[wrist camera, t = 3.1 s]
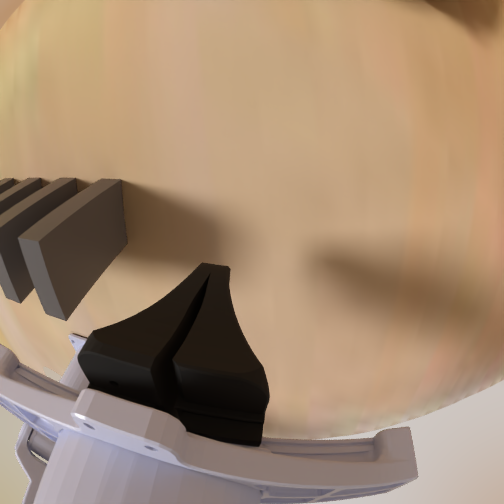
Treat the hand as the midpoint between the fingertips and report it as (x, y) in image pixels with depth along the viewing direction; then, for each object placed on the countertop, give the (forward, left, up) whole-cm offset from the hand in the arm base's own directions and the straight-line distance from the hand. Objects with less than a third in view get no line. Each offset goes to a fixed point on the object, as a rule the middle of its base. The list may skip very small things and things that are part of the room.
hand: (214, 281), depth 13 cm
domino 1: (0, +9, -6) cm, 11 cm away
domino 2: (0, +13, -6) cm, 14 cm away
